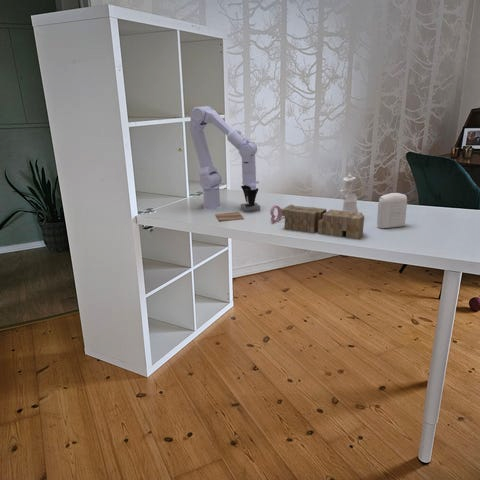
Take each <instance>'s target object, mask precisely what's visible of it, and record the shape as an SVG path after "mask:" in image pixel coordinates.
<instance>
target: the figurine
mask: <svg viewBox="0 0 480 480" xmlns="http://www.w3.org/2000/svg"><path fill="white" fill-rule="evenodd" d="M355 179H356V176H353V175H352V173H351V172H348V173H347V175H346V176H345V177H344V178H343V179H342V180H343V181H344V182H346V183H347V184H346V185H345V189H339V192H346V193H344V196H343V198H342V199H341V200H342V201H343V204H342V205H343V206H342V210H341V211H350V212H351V211H352V212H359V211H358V206H357V200H359V198H358V197H357V195H356V194H355V193H353V192H352V190H353V185H354V184H353V182H354V181H355Z"/></svg>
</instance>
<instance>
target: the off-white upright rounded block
mask: <svg viewBox="0 0 480 480" xmlns="http://www.w3.org/2000/svg"><path fill="white" fill-rule="evenodd" d="M377 205H378V206H377V221H376V226H377V228H379V229H391V228H398V227H405V226H406V219H407V218H406V217H407V215H406V214H407V206H408V197H407V195H406V194H403V193H400V192H391V193H386V194H383V195H382V196H379V198H378V204H377Z"/></svg>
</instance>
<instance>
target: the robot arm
mask: <svg viewBox="0 0 480 480" xmlns="http://www.w3.org/2000/svg"><path fill="white" fill-rule="evenodd" d="M189 118H190V122H189V132H190V135H191V138H192V141H193V145H194V146H193V147H194V149H195V152H196V155H197V159H198V163H199V166H200V171H199V185H200V186H201V188H202V190H203V193H202V194H203V204H202V205H201V206H202V208H203V210H204V211H209V210H211V211H212V210H220V209H223V206H222V205H221V195H220V184H221V183H222V176H221V175H220V173H219V172H218V169H217V167H215V165H214V164H213V161H212V157H211V153H210V150H209V147H208V143H207V140H206V136H205V133H204V129H205V128H206V126H207V124H212V125H214V126H215V127H216V128H217V129H219V130H220V131H221V132H222V133H223V134H225V136H226V137H227V139H226V140H227V141H228V142H229V143H230V144H231V145H232V146H234V148H235V149H237V150H238V154H239V155H240V157H241V172H242V177H241V178H242V183H241V184H242V185H240V188H241V189H242V191H243V194H244V198H245V202H246V203H247V197H248V202H249V205H254V203H256V197H257V194H258V192H259V188H257V187H256V185H257V184H260V182H259V180H257V174H256V173H257V171H256V169H257V165H256V164H257V163H256V154H257V151H258V147H257V145H256V144H255V142H254V141H250V139H249V138H246V137H245V136H244V135H243V133H242V131H241V130H238V129H233V128H232V127H231V126H230V125H229V124H228V123H227V122H226V121H225V120H224V119H223V118H222V117H221V115H219V114H218V112H217V111H216V110H215V109H214V108H213V107H212V106H210V105H205V106H194V107H193V108H192V110H191V111H190V113H189Z"/></svg>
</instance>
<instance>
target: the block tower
mask: <svg viewBox="0 0 480 480" xmlns="http://www.w3.org/2000/svg"><path fill="white" fill-rule="evenodd" d="M281 216H282V217H284V230H288V231H294V232H303V233H310V234H315V233H317V234H318V235H325V236H333V237H339V238H342V237H344V236H345V238H346V239H354V240H359V239H361V237H363V235H364V224H365V215H364V214H363V212H360V211H358V212H352V211H351V212H350V211H342V210H341V209H340V210H338V209H329V210H327V208H321V207H315V206H313V207H312V206H300V205H294V204H289V205H287V206H284V207H283V208H281Z"/></svg>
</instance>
